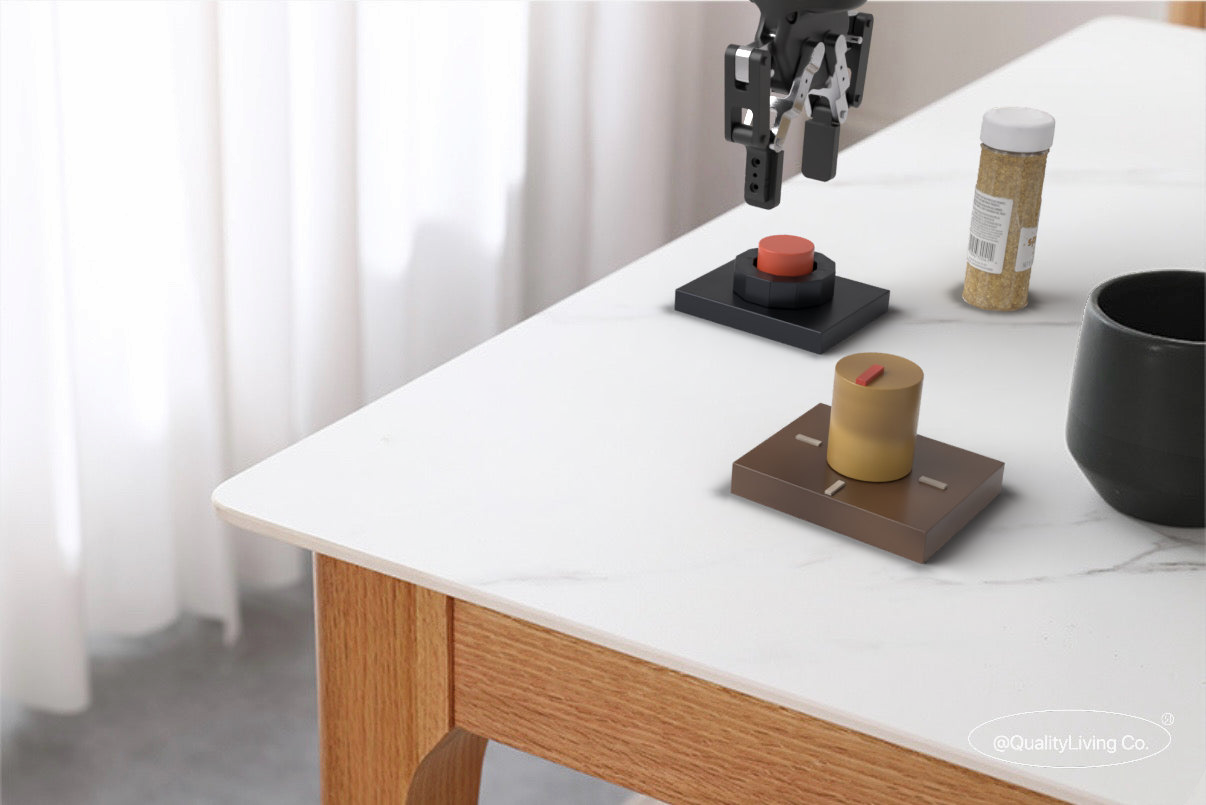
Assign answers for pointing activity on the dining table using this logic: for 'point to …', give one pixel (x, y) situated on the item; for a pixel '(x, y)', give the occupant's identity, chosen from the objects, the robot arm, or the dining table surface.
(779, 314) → the button block
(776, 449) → the lock plate
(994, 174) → the sprinkles bottle
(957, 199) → the dining table surface
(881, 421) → the lock knob
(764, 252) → the button
